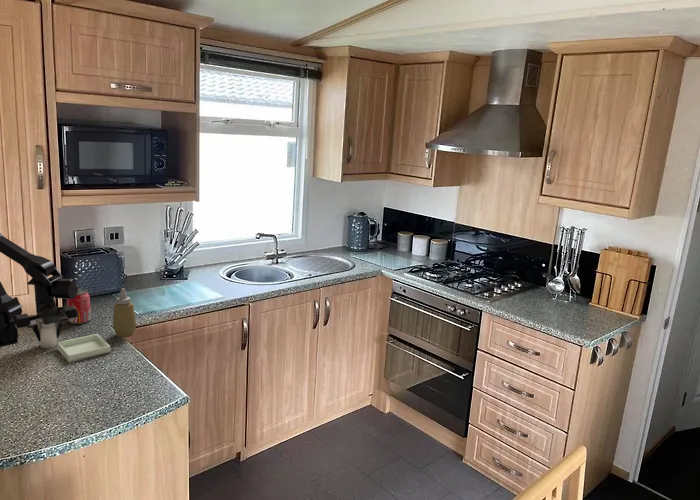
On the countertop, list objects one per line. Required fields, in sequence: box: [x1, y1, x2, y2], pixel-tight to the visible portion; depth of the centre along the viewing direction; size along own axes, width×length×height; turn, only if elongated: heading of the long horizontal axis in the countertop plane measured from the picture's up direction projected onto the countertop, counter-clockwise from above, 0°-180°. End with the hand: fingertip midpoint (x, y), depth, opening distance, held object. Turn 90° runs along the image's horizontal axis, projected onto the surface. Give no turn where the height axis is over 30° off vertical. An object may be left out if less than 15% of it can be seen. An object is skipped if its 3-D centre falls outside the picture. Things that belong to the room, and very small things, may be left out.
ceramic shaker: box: [38, 320, 58, 349], centre depth 187 cm, size 5×5×9 cm
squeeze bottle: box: [112, 287, 137, 338], centre depth 198 cm, size 8×8×18 cm
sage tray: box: [56, 333, 112, 364], centre depth 185 cm, size 13×13×2 cm
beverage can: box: [66, 288, 92, 325], centre depth 209 cm, size 8×8×12 cm
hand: (48, 339), depth 188 cm, fingers closed on ceramic shaker, 5 cm apart
